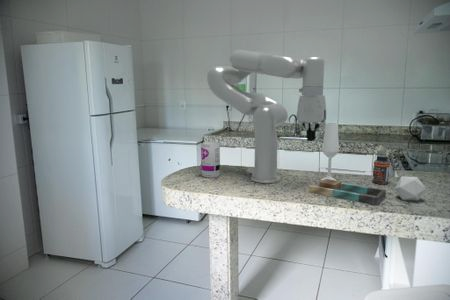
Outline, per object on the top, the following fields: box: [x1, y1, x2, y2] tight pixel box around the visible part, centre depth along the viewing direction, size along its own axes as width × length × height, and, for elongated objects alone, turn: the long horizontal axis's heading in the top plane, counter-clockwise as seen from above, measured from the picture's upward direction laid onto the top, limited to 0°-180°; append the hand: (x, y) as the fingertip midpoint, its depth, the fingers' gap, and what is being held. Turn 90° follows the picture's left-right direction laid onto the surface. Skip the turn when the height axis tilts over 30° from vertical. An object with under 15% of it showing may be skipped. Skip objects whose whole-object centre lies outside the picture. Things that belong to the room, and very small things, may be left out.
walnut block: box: [318, 179, 342, 191], centre depth 123 cm, size 6×6×4 cm
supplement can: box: [200, 141, 221, 179], centre depth 146 cm, size 8×8×15 cm
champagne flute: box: [321, 122, 340, 181], centre depth 136 cm, size 7×7×24 cm
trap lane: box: [308, 178, 387, 206], centre depth 119 cm, size 24×11×2 cm, turn 52°
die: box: [394, 176, 427, 202], centre depth 113 cm, size 8×9×10 cm
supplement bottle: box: [371, 154, 391, 185], centre depth 133 cm, size 6×6×11 cm
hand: (310, 140), depth 125 cm, fingers closed
